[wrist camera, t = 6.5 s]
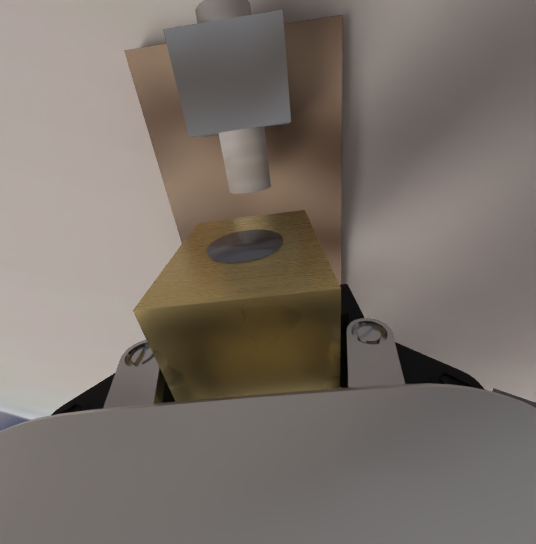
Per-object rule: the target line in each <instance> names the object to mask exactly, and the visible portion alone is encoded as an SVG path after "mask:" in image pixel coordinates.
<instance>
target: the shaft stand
mask: <svg viewBox="0 0 536 544" xmlns="http://www.w3.org/2000/svg"><path fill="white" fill-rule="evenodd" d="M196 16H197V22H198V24H193V25H187V26H181V27H175V28H169V29H163V31H164V35H165V39H166V43H167V44H161V45H155V46H149V47H143V48H137V49H131V50H124V51H125V55H126V58H127V61H128V65H129V68H130V71H131V75H132V78H133V81H134V85H135V88H136V91H137V95H138V98H139V101H140V105H141V108H142V111H143V115H144V118H145V122H146V125H147V128H148V132H149V135H150V138H151V142H152V145H153V148H154V152H155V155H156V158H157V162H158V165H159V168H160V172H161V175H162V178H163V182H164V185H165V188H166V192H167V195H168V198H169V202H170V205H171V208H172V212H173V215H174V218H175V222H176V225H177V228H178V232H179V235H180V238H181V242H182V244H183V242H184V241H185V240H186V238H187V237H188V235H189V234H190V233H191V231H192V230H193V229H194V227H195V226H196V225H197V223H203V222H211V221H219V220H227V219H235V218H243V217H251V216H259V215H267V214H275V213H283V212H291V211H299V210H305V211H306V214H307V216H308V218H309V220H310V222H311V224H312V227H313V229H314V231H315V233H316V235H317V237H318V240H319V242H320V244H321V246H322V248H323V250H324V253H325V255H326V257H327V259H328V261H329V263H330V266H331V268H332V270H333V272H334V274H335V276H336V279H337V281H338V283H339V285H341V216H342V25H343V15H338V16H332V17H326V18H320V19H313V20H307V21H301V22H295V23H289V24H284V19H283V9H282V10H276V11H270V12H264V13H258V14H252V15H251V9H250V3H249V1H248V0H205V1H203V2H202V3H200V4H199V5H198V6H197V8H196Z"/></svg>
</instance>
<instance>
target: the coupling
mask: <svg viewBox="0 0 536 544" xmlns="http://www.w3.org/2000/svg"><path fill="white" fill-rule="evenodd" d="M133 312H134V314H135V316H136V318H137V320H138V322H139V324H140V327H141V329H142V331H143V333H144V335H145V337H146V339H147V342H148V344H149V346H150V348H151V350H152V352H153V354H154V356H155V359H156V361H157V363H158V365H159V367H160V369H161V371H162V374H163V376H164V378H165V380H166V382H167V384H168V386H169V388H170V391H171V393H172V395H173V397H174V399H175V401H176V402H177V401H189V400H200V399H212V398H224V397H235V396H247V395H259V394H272V393H284V392H297V391H309V390H322V389H335V388H340V342H341V287H340V285H339V283H338V281H337V279H336V276H335V274H334V272H333V270H332V268H331V266H330V263H329V261H328V259H327V257H326V255H325V253H324V250H323V248H322V246H321V244H320V242H319V240H318V237H317V235H316V233H315V231H314V229H313V227H312V224H311V222H310V220H309V218H308V216H307V214H306V211H305V210H299V211H291V212H283V213H275V214H267V215H259V216H251V217H243V218H235V219H227V220H219V221H211V222H203V223H197V225H196V226H195V227H194V229H193V230H192V231H191V233H190V234H189V235H188V237H187V238H186V240H185V241H184V242H183V244H182V245H181V246H180V248H179V249H178V250H177V252H176V253H175V254H174V256H173V257H172V258H171V260H170V261H169V263H168V264H167V265H166V267H165V268H164V269H163V271H162V272H161V273H160V275H159V276H158V277H157V279H156V280H155V281H154V283H153V284H152V286H151V287H150V288H149V290H148V291H147V292H146V294H145V295H144V296H143V298H142V299H141V300H140V302H139V303H138V304H137V306H136V307H135V309H134V310H133Z"/></svg>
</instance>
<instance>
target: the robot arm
mask: <svg viewBox="0 0 536 544" xmlns="http://www.w3.org/2000/svg"><path fill="white" fill-rule="evenodd" d="M340 287H341V342H340V387H341V388H335V389H322V390H309V391H297V392H284V393H272V394H259V395H247V396H235V397H224V398H212V399H200V400H189V401H177V402H176V401H175V399H174V397H173V395H172V393H171V391H170V388H169V386H168V384H167V382H166V380H165V378H164V376H163V374H162V371H161V369H160V367H159V365H158V363H157V361H156V359H155V356H154V354H153V352H152V350H151V348H150V346H149V344H148V342H147V340H144V341H141V342H138V343H137V344H135V345H133V346H131V347H130V348H129V349H127V350H126V352H125V353H124V354H123V355H122V357H121V359H120V361H119V364H118V367H117V370H116V373H114V374H113V375H111V376H110V377H108V378H106V379H105V380H103V381H102V382H100V383H98V384H97V385H95V386H94V387H92V388H90V389H89V390H87V391H85V392H84V393H82V394H81V395H79V396H77V397H76V398H74V399H73V400H71V401H69V402H68V403H66V404H64V405H63V406H62V407H60V408H59V409H57V410H56V411H55V412H54V413H53V414H52V415H51V416H46V417H42V418H37V419H34V420H30V421H27V422H24V423H20V424H17V425H15V426H12V427H9V428H7V429H4V430H2V431H0V544H536V403H535V402H532V401H529V400H526V399H523V398H521V397H518V396H515V395H512V394H509V393H506V392H503V391H500V390H497V389H494V388H493V390H492V392H491V391H488V390H485V389H484V388H483V387H482V386H481V385H480V383H479V382H478V381H477V380H475V379H474V378H473V377H471V376H470V375H468V374H466V373H464V372H463V371H460V370H458V369H456V368H453V367H451V366H449V365H447V364H444V363H442V362H440V361H437V360H435V359H433V358H430V357H428V356H426V355H423V354H421V353H419V352H416V351H414V350H412V349H409V348H407V347H405V346H402V345H400V344H398V343H396V342H395V341H394V337H393V333H392V331H391V329H390V328H389V327H388V326H387V325H386V324H384V323H383V322H381V321H378V320H375V319H370V318H364V316H363V314H362V312H361V310H360V308H359V306H358V304H357V302H356V300H355V298H354V296H353V294H352V292H351V290H350V288H349V287H348V285H347V284H343V285H340Z"/></svg>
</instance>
